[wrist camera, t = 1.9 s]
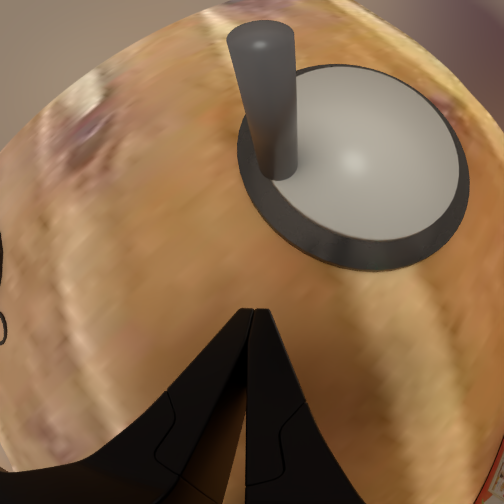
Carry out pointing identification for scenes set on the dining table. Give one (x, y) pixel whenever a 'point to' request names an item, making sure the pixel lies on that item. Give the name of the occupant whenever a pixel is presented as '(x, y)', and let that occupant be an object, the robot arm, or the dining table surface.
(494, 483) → the cracker box
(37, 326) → the dining table surface
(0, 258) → the compass
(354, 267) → the base plate
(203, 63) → the dining table surface
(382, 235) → the wheel
